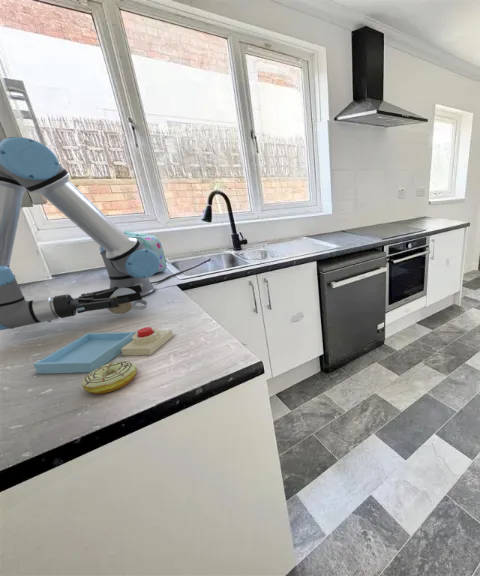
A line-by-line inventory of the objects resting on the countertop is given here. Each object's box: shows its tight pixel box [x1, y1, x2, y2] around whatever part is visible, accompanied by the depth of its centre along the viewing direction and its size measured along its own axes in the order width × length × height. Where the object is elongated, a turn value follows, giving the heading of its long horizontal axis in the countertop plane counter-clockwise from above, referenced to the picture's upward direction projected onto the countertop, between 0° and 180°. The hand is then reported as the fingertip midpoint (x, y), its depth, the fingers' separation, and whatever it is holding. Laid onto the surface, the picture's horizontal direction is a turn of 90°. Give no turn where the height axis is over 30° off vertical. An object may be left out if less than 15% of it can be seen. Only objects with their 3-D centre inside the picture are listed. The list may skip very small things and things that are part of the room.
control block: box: [121, 328, 174, 356], centre depth 94 cm, size 11×8×4 cm
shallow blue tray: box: [33, 331, 137, 375], centre depth 89 cm, size 17×15×3 cm
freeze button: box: [136, 326, 153, 337], centre depth 93 cm, size 4×4×2 cm
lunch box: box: [123, 230, 167, 274], centre depth 160 cm, size 27×10×21 cm, turn 73°
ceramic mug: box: [107, 288, 148, 315], centre depth 113 cm, size 11×8×8 cm
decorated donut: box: [81, 360, 138, 395], centre depth 77 cm, size 10×11×4 cm
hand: (140, 291), depth 114 cm, fingers closed on ceramic mug, 9 cm apart
